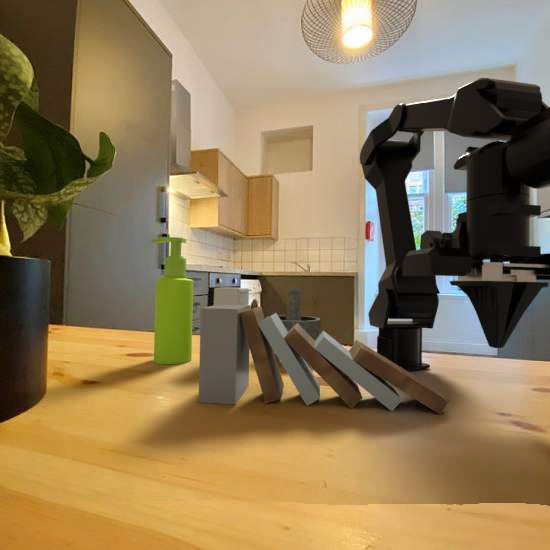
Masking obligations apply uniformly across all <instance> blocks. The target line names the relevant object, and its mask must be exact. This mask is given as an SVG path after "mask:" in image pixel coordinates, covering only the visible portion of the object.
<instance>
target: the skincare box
mask: <svg viewBox="0 0 550 550" xmlns="http://www.w3.org/2000/svg"><path fill="white" fill-rule="evenodd" d="M213 291H214V292H213V306H214V305H219V304H225V305H249V304H250V303H249V302H250V300H249V298H250V294H249V293H250V288H249V287H248V288H247V287H214V290H213Z"/></svg>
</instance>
